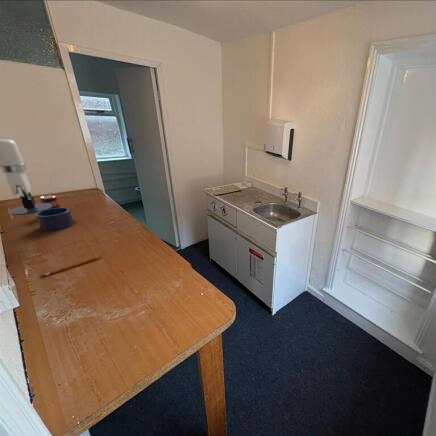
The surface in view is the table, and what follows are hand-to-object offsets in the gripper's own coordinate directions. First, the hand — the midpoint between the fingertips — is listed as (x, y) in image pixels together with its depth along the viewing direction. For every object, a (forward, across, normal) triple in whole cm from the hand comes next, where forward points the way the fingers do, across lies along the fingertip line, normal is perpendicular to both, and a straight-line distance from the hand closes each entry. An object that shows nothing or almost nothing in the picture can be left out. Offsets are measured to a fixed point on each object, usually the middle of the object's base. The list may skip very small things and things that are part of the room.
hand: (30, 206), depth 111 cm
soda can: (+19, -40, +1) cm, 44 cm away
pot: (+19, -19, +4) cm, 27 cm away
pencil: (+19, +36, +12) cm, 43 cm away
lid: (+2, 0, 0) cm, 2 cm away
